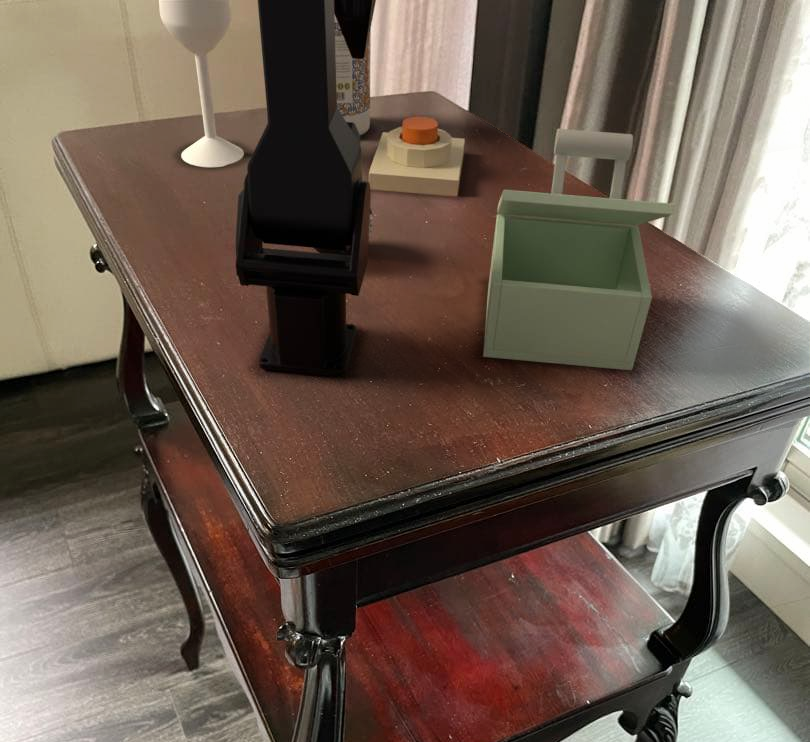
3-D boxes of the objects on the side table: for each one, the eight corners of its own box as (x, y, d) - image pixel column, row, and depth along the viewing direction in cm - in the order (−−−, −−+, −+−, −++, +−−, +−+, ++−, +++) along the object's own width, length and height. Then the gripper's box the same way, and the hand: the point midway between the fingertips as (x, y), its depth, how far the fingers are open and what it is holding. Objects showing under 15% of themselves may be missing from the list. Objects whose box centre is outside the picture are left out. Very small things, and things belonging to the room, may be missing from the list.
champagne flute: (240, 168, 87) (211, -123, 70) (175, 166, 87) (129, -127, 70) (248, 143, 92) (223, -136, 75) (187, 141, 92) (147, -139, 74)
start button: (435, 148, 85) (436, 130, 84) (400, 146, 85) (400, 128, 84) (438, 135, 87) (439, 117, 86) (404, 132, 87) (404, 115, 86)
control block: (457, 197, 84) (460, 161, 82) (368, 189, 85) (368, 154, 82) (463, 154, 92) (466, 121, 89) (382, 148, 92) (382, 114, 90)
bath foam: (376, 138, 94) (378, -80, 80) (315, 142, 93) (306, -79, 78) (362, 116, 99) (362, -94, 84) (304, 119, 97) (294, -94, 83)
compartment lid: (673, 214, 56) (687, 134, 54) (502, 200, 56) (511, 120, 55) (638, 225, 67) (649, 158, 66) (497, 213, 68) (504, 147, 66)
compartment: (631, 370, 64) (652, 297, 60) (483, 356, 65) (492, 283, 60) (621, 295, 72) (638, 225, 67) (488, 283, 72) (496, 213, 68)
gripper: (459, -153, 55) (442, 102, 66) (473, -184, 68) (457, 33, 79) (291, -164, 56) (303, 91, 67) (337, -193, 69) (340, 24, 80)
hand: (358, 57), depth 73 cm, fingers closed
